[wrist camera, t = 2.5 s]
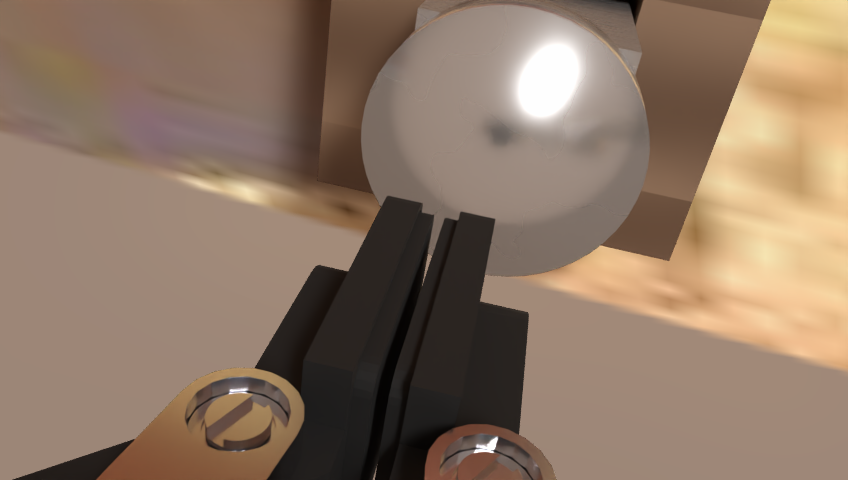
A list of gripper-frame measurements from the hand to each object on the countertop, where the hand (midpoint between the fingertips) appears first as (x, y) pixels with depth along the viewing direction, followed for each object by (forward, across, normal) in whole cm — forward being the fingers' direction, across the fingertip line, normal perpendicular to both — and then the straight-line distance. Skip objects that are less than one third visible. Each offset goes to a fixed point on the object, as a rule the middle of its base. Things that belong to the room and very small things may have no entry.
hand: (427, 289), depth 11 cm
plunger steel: (+13, -1, 0) cm, 13 cm away
